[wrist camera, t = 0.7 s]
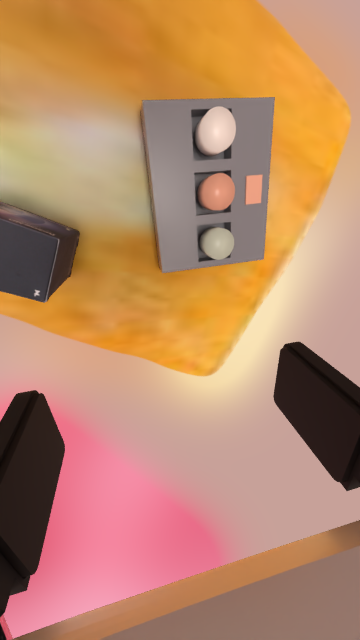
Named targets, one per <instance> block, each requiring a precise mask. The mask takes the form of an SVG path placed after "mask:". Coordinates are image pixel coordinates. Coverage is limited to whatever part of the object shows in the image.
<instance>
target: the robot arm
mask: <svg viewBox="0 0 360 640" xmlns="http://www.w3.org/2000/svg"><path fill="white" fill-rule="evenodd" d="M274 401H275V403H276V405H277V406H278V407H279V409H280V410H281V411H282V413H283V414H284V415H285V417H286V418H287V419H288V421H289V422H290V423H291V424H292V426H293V427H294V428H295V429H296V431H297V432H298V434H299V435H300V436H301V437H302V439H303V440H304V441H305V443H306V444H307V445H308V446H309V448H310V449H311V450H312V452H313V453H314V454H315V456H316V457H317V458H318V459H319V461H320V462H321V463H322V465H323V466H324V467H325V469H326V470H327V471H328V472H329V474H330V475H331V476H332V478H333V479H334V480H336V481H337V482H340V483H341V484H342V485H343V487H344V488H345V489H346V491H349V490H352V489H355V488H358V487H360V387H358V386H357V385H356V384H354V383H353V382H352V381H351V380H349V379H348V378H347V377H345V376H344V375H343V374H341V373H340V372H339V371H338V370H336V369H335V368H334V367H332V366H331V365H330V364H328V363H327V362H326V361H325V360H323V359H322V358H321V357H319V356H318V355H317V354H315V353H314V352H313V351H312V350H310V349H309V348H308V347H306V346H305V345H304V344H302V343H301V342H293V343H288V344H285V345H284V347H283V348H282V349H281V350H280V357H279V363H278V370H277V376H276V383H275V390H274ZM64 452H65V445H64V441H63V439H62V437H61V434H60V432H59V430H58V427H57V425H56V422H55V420H54V418H53V415H52V413H51V411H50V408H49V406H48V403H47V401H46V399H45V396H44V394H42V393H40V394H39V393H38V392H37V391H36V390H34V391H28V392H23V393H18V394H16V395H15V397H14V399H13V400H12V402H11V404H10V406H9V407H8V409H7V411H6V413H5V414H4V416H3V418H2V420H1V421H0V640H360V520H359V521H356V522H353V523H350V524H347V525H344V526H341V527H338V528H335V529H332V530H329V531H326V532H323V533H320V534H317V535H313V536H310V537H307V538H304V539H301V540H298V541H295V542H292V543H289V544H286V545H283V546H280V547H277V548H274V549H271V550H268V551H265V552H262V553H260V554H256V555H253V556H250V557H248V558H244V559H242V560H239V561H236V562H233V563H230V564H227V565H224V566H221V567H218V568H215V569H212V570H209V571H206V572H203V573H200V574H197V575H194V576H191V577H188V578H185V579H182V580H179V581H177V582H174V583H171V584H168V585H165V586H162V587H159V588H156V589H153V590H150V591H147V592H144V593H141V594H138V595H136V596H133V597H130V598H127V599H124V600H121V601H118V602H115V603H112V604H109V605H106V606H103V607H100V608H97V609H95V610H92V611H89V612H86V613H83V614H80V615H77V616H75V617H72V618H69V619H66V620H64V621H61V622H58V623H55V624H53V625H50V626H47V627H44V628H42V629H39V630H36V631H34V632H31V633H28V634H25V635H22V636H20V637H17V638H14V639H13V638H12V635H11V633H10V630H9V628H8V625H7V623H6V620H5V618H4V615H3V613H4V612H5V609H6V606H7V603H8V599H9V596H10V595H13V594H17V593H20V592H23V591H26V590H27V587H28V583H29V579H30V575H33V574H34V573H35V572H36V570H37V568H38V565H39V561H40V556H41V552H42V548H43V543H44V539H45V535H46V530H47V526H48V522H49V517H50V513H51V509H52V504H53V500H54V496H55V491H56V487H57V483H58V478H59V474H60V470H61V466H62V461H63V457H64Z"/></svg>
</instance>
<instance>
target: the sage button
mask: <svg viewBox="0 0 360 640" xmlns="http://www.w3.org/2000/svg"><path fill="white" fill-rule="evenodd" d="M233 247H234V238H233V235H232V233H231V232H230V231H228V230H227V229H224V228H219V227H210V228H208V229H206V230H205V231H204V232H203V233H202V235H201V237H200V248H201V250H202V252H203V253H204V254H206V255H208V256H209V257H211V258H213V259H216V260H221V259H224V258H226V257H227V256H229V255H230V253H231V252H232V250H233Z"/></svg>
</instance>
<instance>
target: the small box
mask: <svg viewBox="0 0 360 640" xmlns="http://www.w3.org/2000/svg"><path fill="white" fill-rule="evenodd" d="M79 234H80V233H79V231H77V230H75V229H72V228H69V227H67V226H64V225H62V224H59V223H56V222H54V221H51V220H48V219H46V218H43V217H40V216H38V215H35V214H33V213H30V212H27V211H25V210H22V209H19V208H16V207H14V206H11V205H8V204H6V203H3V202H0V291H2V292H6V293H10V294H13V295H17V296H21V297H25V298H28V299H32V300H36V301H40V302H47V301H48V299H49V297H50V296H51V295H52V294H53V293H54V292H55V291H56V290H57V289H58V287H59V286H60V285H61V284H62V283H63V282H64V281H65V280H66V279H67V278H68V277H70V274H71V268H72V265H73V260H74V255H75V252H76V247H77V246H78V240H79Z"/></svg>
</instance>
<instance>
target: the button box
mask: <svg viewBox="0 0 360 640" xmlns="http://www.w3.org/2000/svg"><path fill="white" fill-rule="evenodd" d="M274 100H275V97H267V98H223V99H179V100H142V106H141V120H142V128H143V136H144V145H145V153H146V161H147V170H148V178H149V186H150V194H151V203H152V211H153V219H154V227H155V236H156V244H157V252H158V260H159V268H160V270H161V271H162V273H167V272H174V271H182V270H189V269H196V268H204V267H211V266H218V265H226V264H233V263H240V262H248V261H255V260H262V259H264V248H265V233H266V218H267V203H268V189H269V174H270V159H271V144H272V129H273V115H274ZM218 106H220V107H224V108H226V109H228V110H229V111H230V112H231V114H232V115H233V117H234V120H235V124H236V133H235V137H234V140H233V142H232V144H231V145H230V146H229V147H228V148H227V149H225V150H224V151H222V152H220V153H219V154H217V155H215V156H206V155H204V154H202V153H201V152H200V151H199V149H198V148H197V146H196V143H195V130H196V127H197V124H198V123H199V121H200V120H201V119H202V118H203V117H204V116H205V114H206V113H207V112H208V111H209V110H210V109H212V108H214V107H218ZM217 173H224V174H226V175H228V176H229V177H230V178H231V179H232V181H233V183H234V186H235V195H234V199H233V201H232V203H231V204H230V205H229V206H228V207H227V208H225V209H223V210H207V209H205V208H203V207H202V206H201V204H200V203H199V201H198V196H197V192H198V187H199V185H200V183H201V182H202V181H203V180H204V179H205V178H207V177H209V176H211V175H214V174H217ZM210 227H219V228H224V229H227V230H228V231H230V232H231V233H232V235H233V238H234V247H233V250H232V252H231V253H230V255H229V256H227V257H226V258H224V259H221V260H216V259H213V258H211V257H209V256H208V255H206V254H204V253H203V252H202V250H201V248H200V237H201V235H202V233H203V232H204V231H205V230H206V229H208V228H210Z"/></svg>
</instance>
